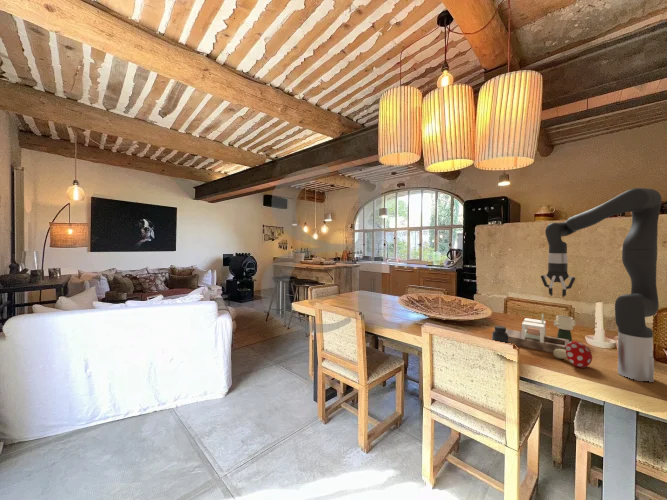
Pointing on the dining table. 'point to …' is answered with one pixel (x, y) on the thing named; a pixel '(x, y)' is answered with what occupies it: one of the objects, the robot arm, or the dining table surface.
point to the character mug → (564, 326)
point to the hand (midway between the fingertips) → (557, 295)
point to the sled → (532, 334)
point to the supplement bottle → (500, 334)
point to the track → (536, 342)
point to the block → (533, 331)
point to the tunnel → (535, 324)
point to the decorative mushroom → (575, 354)
